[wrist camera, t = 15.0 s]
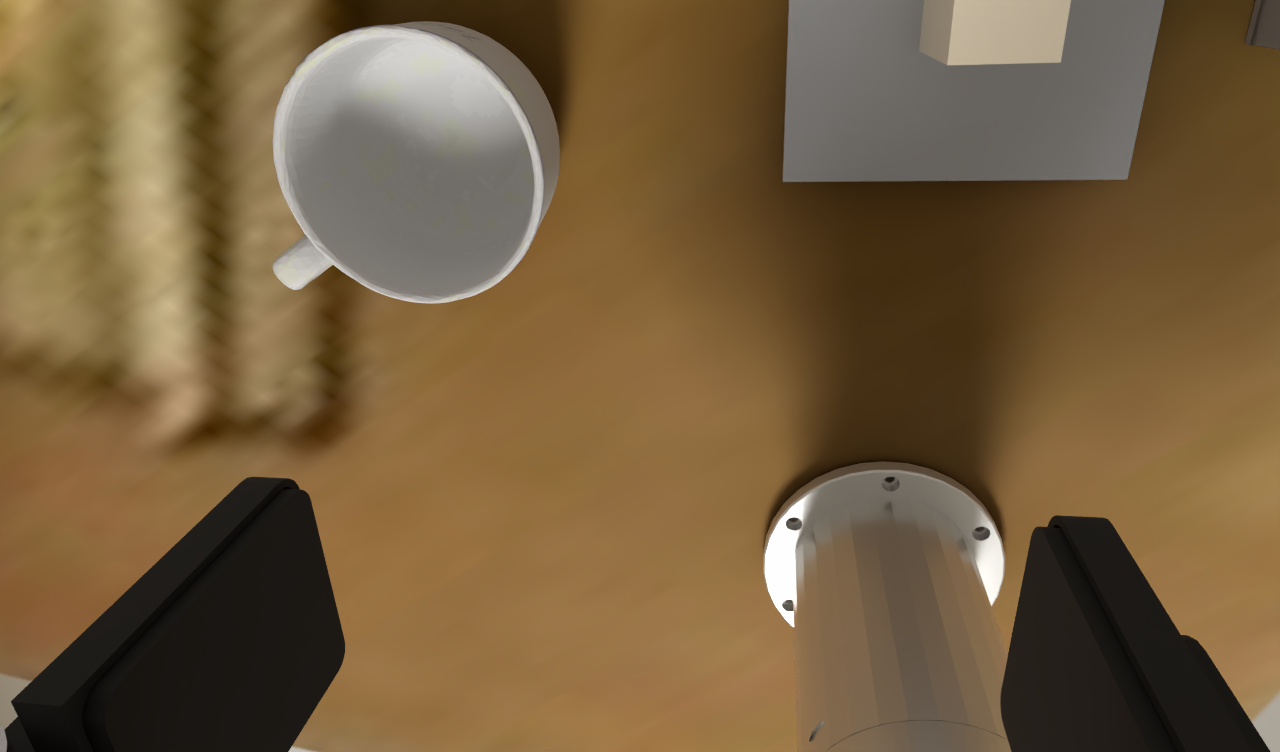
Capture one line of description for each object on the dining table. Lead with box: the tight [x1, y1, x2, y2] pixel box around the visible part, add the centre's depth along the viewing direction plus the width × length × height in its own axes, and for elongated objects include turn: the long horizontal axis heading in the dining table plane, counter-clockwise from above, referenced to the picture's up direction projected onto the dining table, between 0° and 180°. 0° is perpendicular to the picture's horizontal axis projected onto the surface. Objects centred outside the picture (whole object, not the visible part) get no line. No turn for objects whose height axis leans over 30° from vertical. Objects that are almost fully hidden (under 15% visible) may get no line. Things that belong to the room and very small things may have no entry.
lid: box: [783, 0, 1165, 182], centre depth 31 cm, size 14×14×8 cm
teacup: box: [273, 21, 560, 303], centre depth 36 cm, size 14×11×8 cm
